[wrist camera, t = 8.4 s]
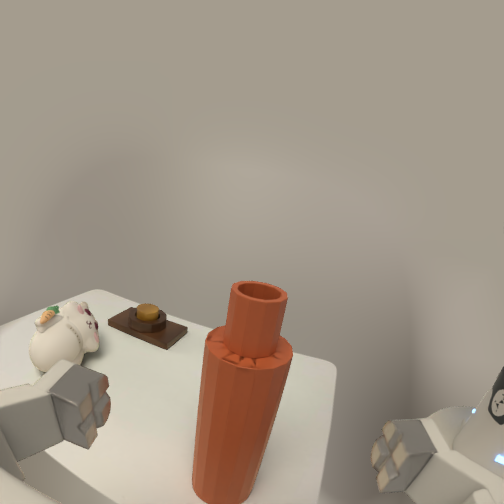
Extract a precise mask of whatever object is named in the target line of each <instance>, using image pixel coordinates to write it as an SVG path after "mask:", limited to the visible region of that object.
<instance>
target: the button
mask: <svg viewBox="0 0 504 504" xmlns="http://www.w3.org/2000/svg"><path fill="white" fill-rule="evenodd" d="M158 316H159V308H158V307H157V306H155V305H152V304H141V305H138V306H137V318H138V319H141V320H144V321H154V320H157V319H158Z"/></svg>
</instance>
